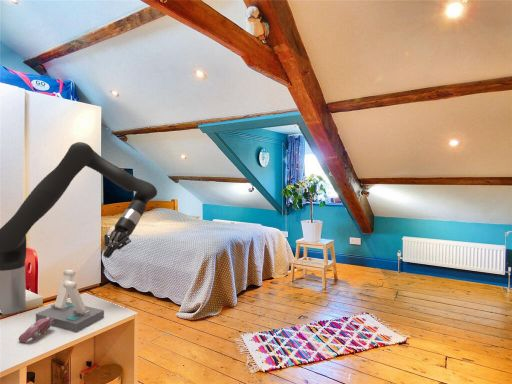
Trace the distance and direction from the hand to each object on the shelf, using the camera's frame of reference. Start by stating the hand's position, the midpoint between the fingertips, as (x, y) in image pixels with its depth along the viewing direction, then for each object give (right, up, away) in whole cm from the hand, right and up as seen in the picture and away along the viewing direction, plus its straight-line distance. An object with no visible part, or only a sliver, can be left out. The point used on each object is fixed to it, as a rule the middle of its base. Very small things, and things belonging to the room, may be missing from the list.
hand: (105, 256), depth 126 cm
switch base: (-10, -22, -7) cm, 25 cm away
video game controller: (-14, -23, -19) cm, 33 cm away
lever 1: (-15, -18, -6) cm, 24 cm away
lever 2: (-5, -18, -9) cm, 21 cm away
